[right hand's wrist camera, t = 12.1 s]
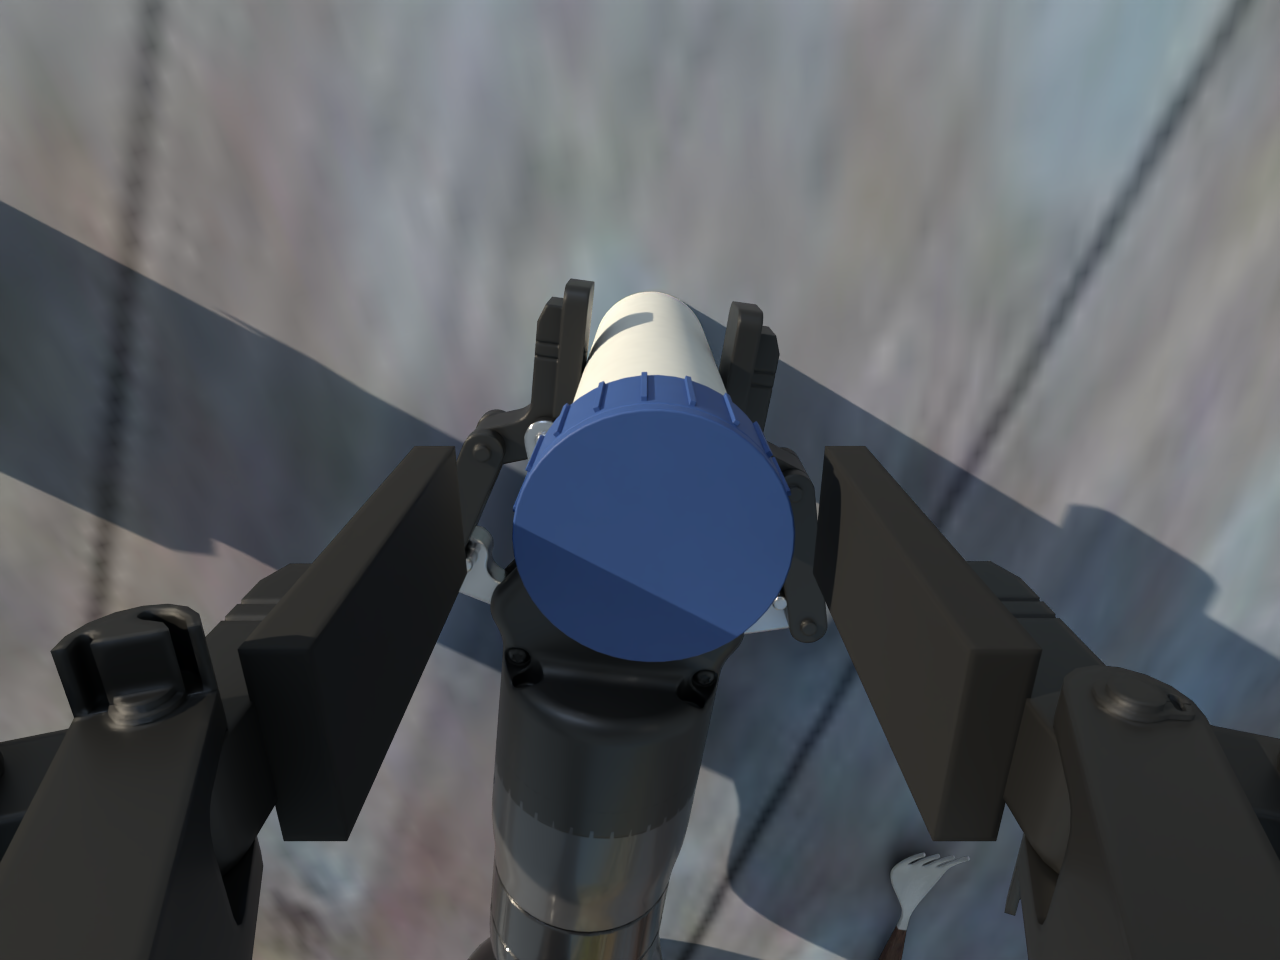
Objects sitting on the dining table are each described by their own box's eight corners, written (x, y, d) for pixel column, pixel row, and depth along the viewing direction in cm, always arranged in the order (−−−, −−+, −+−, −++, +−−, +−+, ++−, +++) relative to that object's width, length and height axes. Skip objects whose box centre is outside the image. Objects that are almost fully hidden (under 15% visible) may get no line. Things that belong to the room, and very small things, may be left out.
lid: (602, 633, 16) (595, 704, 14) (480, 442, 14) (450, 487, 12) (815, 540, 15) (843, 600, 13) (710, 324, 13) (722, 350, 11)
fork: (838, 1027, 42) (847, 1066, 40) (905, 819, 36) (920, 854, 34) (883, 1030, 42) (894, 1069, 40) (957, 824, 36) (974, 859, 34)
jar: (627, 419, 28) (606, 664, 14) (575, 324, 27) (491, 486, 13) (723, 371, 28) (807, 577, 13) (674, 270, 26) (708, 379, 12)
